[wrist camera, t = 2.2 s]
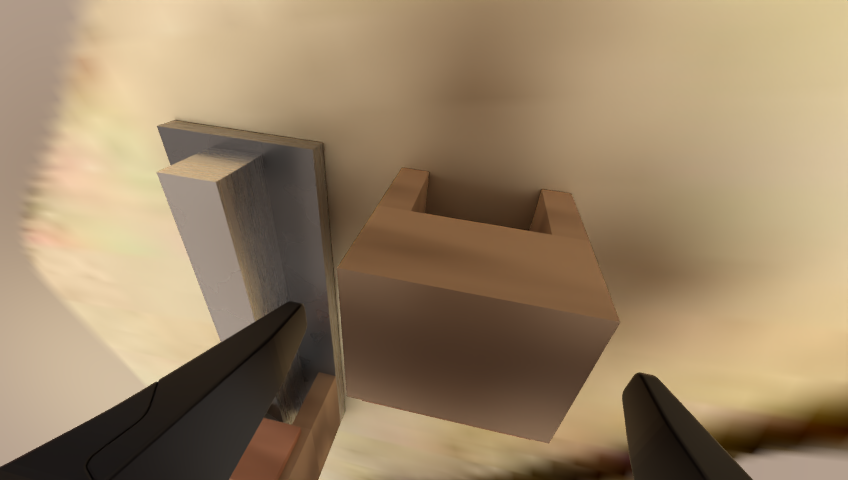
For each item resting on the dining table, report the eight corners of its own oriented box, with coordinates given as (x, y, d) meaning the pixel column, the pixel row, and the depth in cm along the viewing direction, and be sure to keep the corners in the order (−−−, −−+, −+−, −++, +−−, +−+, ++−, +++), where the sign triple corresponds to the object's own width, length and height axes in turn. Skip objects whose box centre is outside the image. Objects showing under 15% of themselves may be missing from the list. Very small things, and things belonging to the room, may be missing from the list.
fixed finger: (340, 423, 22) (293, 541, 17) (253, 401, 23) (184, 509, 18) (335, 371, 19) (276, 497, 14) (235, 349, 20) (145, 461, 15)
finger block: (530, 305, 15) (544, 450, 10) (396, 279, 16) (347, 403, 11) (571, 193, 12) (619, 322, 7) (402, 167, 12) (336, 267, 8)
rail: (345, 411, 23) (324, 463, 20) (260, 390, 23) (230, 438, 21) (322, 142, 13) (274, 177, 10) (174, 120, 13) (92, 147, 11)
